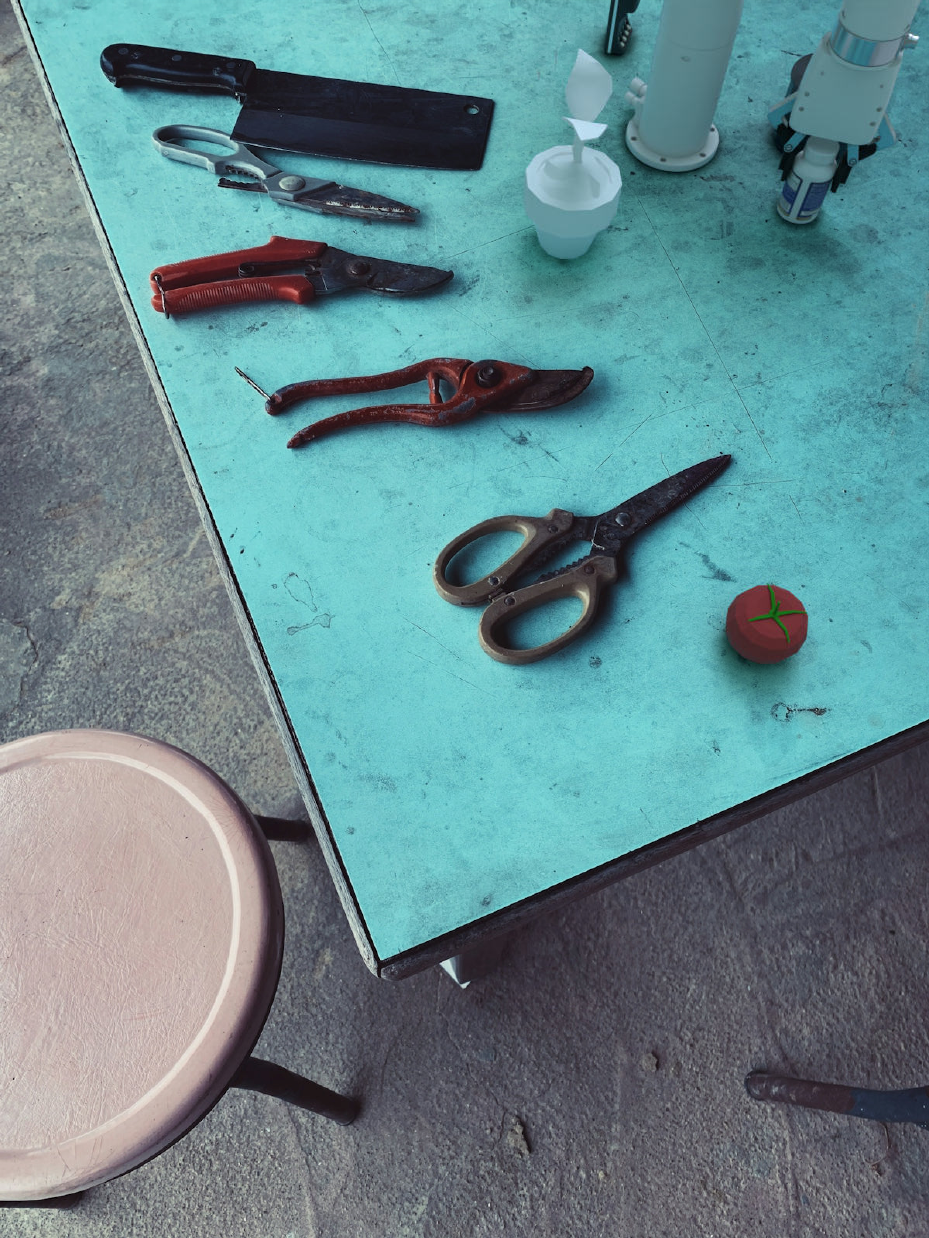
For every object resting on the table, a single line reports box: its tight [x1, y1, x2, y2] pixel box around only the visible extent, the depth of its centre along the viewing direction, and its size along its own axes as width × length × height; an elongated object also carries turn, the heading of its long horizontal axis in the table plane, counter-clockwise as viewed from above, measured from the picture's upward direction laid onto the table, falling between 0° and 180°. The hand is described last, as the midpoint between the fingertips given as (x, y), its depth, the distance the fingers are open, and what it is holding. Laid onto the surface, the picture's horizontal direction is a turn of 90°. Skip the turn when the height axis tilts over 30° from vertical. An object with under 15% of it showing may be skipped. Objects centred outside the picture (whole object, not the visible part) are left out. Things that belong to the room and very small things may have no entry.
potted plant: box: [523, 43, 623, 260], centre depth 107 cm, size 13×12×25 cm
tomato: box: [724, 582, 809, 665], centre depth 91 cm, size 8×8×8 cm
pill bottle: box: [776, 136, 839, 225], centre depth 117 cm, size 5×5×10 cm
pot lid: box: [789, 52, 814, 91], centre depth 118 cm, size 11×11×5 cm
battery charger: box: [603, 0, 641, 55], centre depth 131 cm, size 7×4×11 cm, turn 163°
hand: (809, 179), depth 117 cm, fingers open, 5 cm apart
